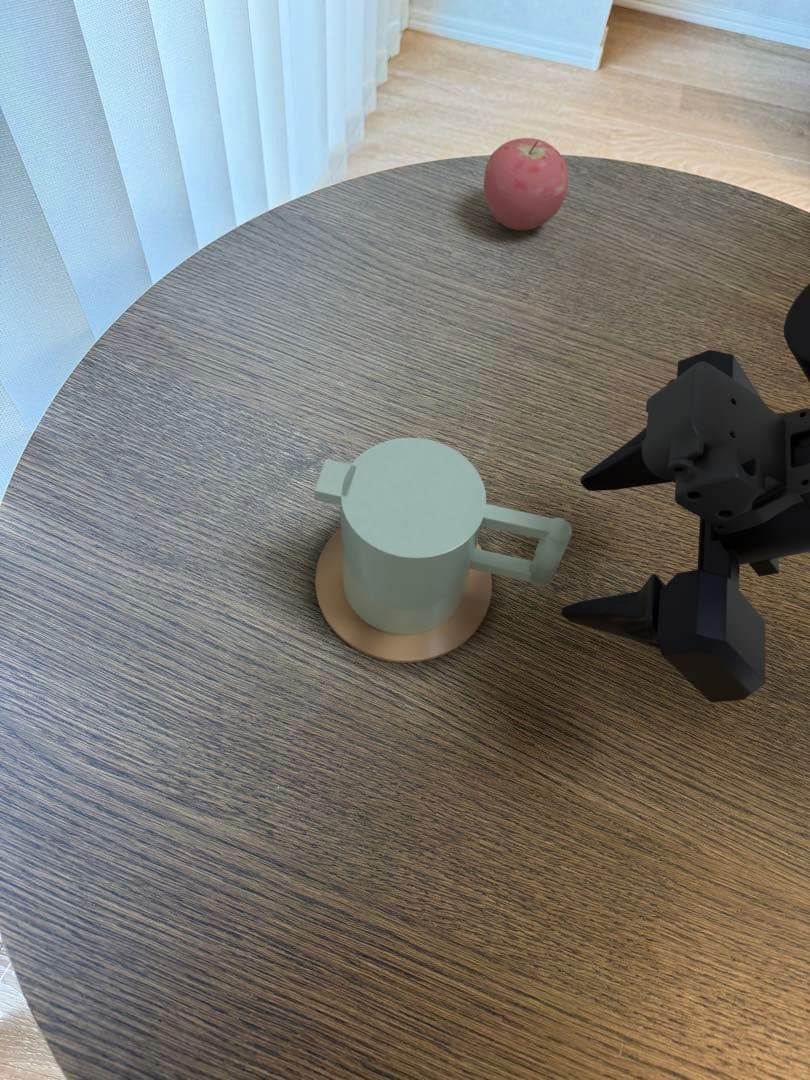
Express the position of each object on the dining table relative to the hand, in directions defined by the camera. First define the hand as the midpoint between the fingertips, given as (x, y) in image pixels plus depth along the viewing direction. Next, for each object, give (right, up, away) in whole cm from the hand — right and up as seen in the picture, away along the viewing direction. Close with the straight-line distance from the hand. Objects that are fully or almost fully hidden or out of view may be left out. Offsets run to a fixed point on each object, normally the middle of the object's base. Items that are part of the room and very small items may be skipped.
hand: (574, 546), depth 48 cm
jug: (-8, -3, +8) cm, 11 cm away
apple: (+1, +30, +29) cm, 42 cm away
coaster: (-10, -2, +8) cm, 13 cm away
